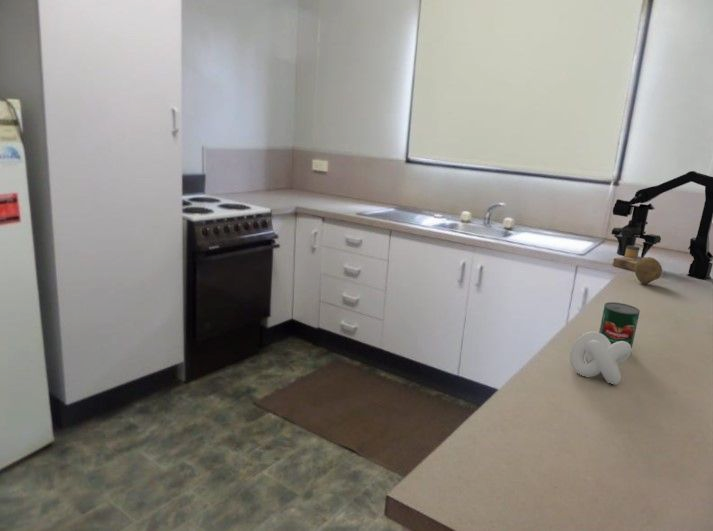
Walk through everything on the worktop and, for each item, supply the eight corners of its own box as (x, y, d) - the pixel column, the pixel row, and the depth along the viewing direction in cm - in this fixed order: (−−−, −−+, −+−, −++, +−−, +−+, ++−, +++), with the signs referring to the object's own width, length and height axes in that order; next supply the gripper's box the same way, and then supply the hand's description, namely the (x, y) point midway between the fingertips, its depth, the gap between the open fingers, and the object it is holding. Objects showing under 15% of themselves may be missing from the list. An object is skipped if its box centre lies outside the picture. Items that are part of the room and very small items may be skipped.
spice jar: (638, 264, 235) (642, 247, 234) (632, 265, 232) (635, 248, 231) (627, 261, 239) (630, 244, 238) (620, 262, 237) (623, 245, 235)
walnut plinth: (648, 269, 226) (650, 262, 226) (635, 271, 221) (637, 264, 220) (625, 263, 234) (627, 256, 233) (612, 265, 229) (614, 258, 228)
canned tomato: (621, 344, 140) (629, 303, 137) (637, 357, 132) (646, 314, 130) (590, 342, 140) (598, 301, 137) (605, 355, 132) (614, 311, 129)
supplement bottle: (634, 257, 249) (640, 231, 246) (618, 255, 250) (623, 229, 247) (630, 253, 256) (635, 228, 253) (614, 252, 257) (619, 226, 254)
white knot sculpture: (635, 394, 113) (645, 353, 111) (574, 385, 115) (582, 345, 112) (620, 371, 124) (628, 333, 121) (564, 363, 125) (571, 326, 123)
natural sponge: (644, 279, 209) (649, 254, 206) (664, 286, 201) (670, 260, 198) (626, 280, 205) (631, 254, 203) (646, 287, 197) (652, 260, 195)
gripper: (607, 215, 234) (600, 251, 238) (650, 223, 219) (642, 261, 223) (622, 214, 240) (615, 249, 244) (665, 222, 225) (657, 259, 229)
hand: (631, 254), depth 235 cm, fingers open, 9 cm apart
